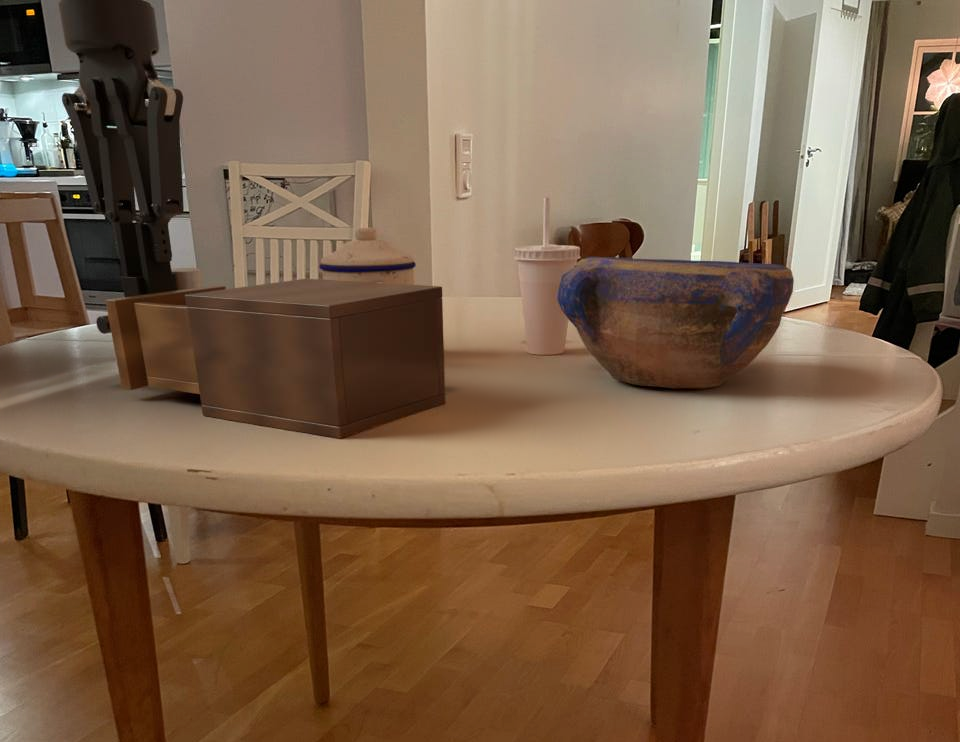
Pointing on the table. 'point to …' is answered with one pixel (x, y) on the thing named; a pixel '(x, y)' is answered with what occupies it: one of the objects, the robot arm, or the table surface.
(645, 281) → the bowl
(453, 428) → the table surface
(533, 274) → the smoothie
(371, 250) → the teacup with lid
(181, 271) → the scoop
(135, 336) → the drawer
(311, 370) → the cabinet
